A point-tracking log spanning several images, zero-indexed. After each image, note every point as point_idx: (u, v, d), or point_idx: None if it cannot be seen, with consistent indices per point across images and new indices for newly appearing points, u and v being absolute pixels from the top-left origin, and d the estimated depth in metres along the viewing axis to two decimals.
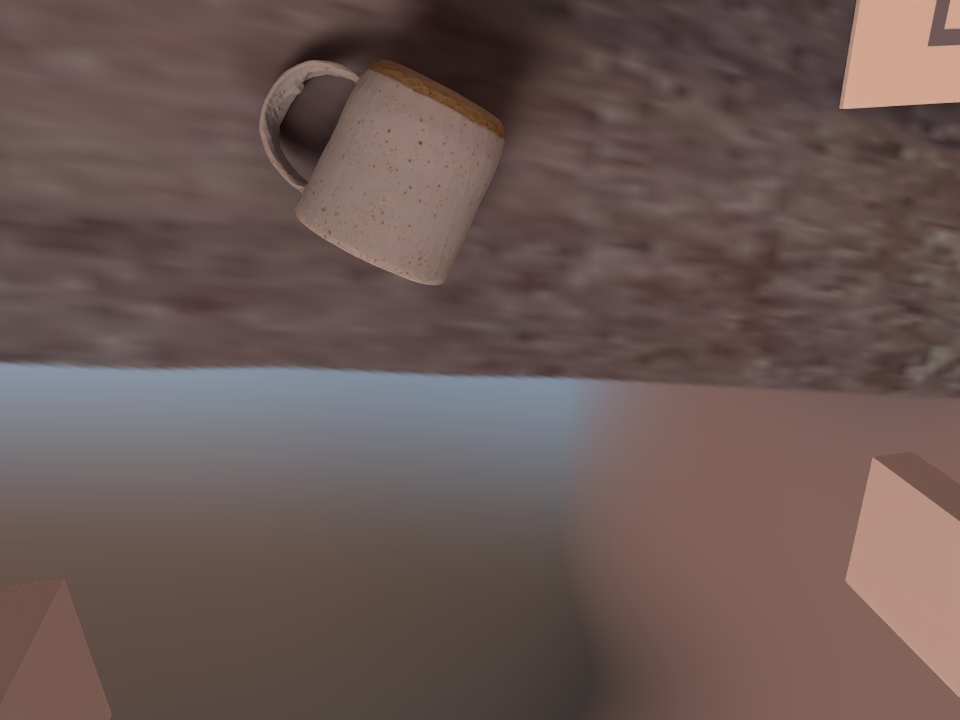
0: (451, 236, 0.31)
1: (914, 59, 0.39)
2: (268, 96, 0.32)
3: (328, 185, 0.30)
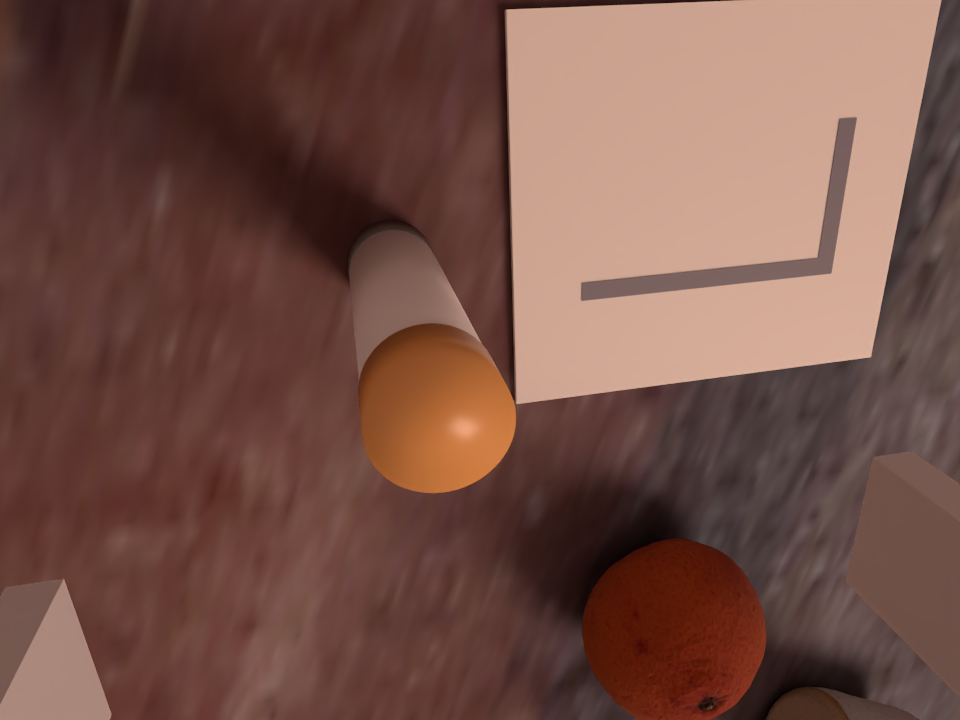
0: None
1: (840, 285, 0.33)
2: None
3: None
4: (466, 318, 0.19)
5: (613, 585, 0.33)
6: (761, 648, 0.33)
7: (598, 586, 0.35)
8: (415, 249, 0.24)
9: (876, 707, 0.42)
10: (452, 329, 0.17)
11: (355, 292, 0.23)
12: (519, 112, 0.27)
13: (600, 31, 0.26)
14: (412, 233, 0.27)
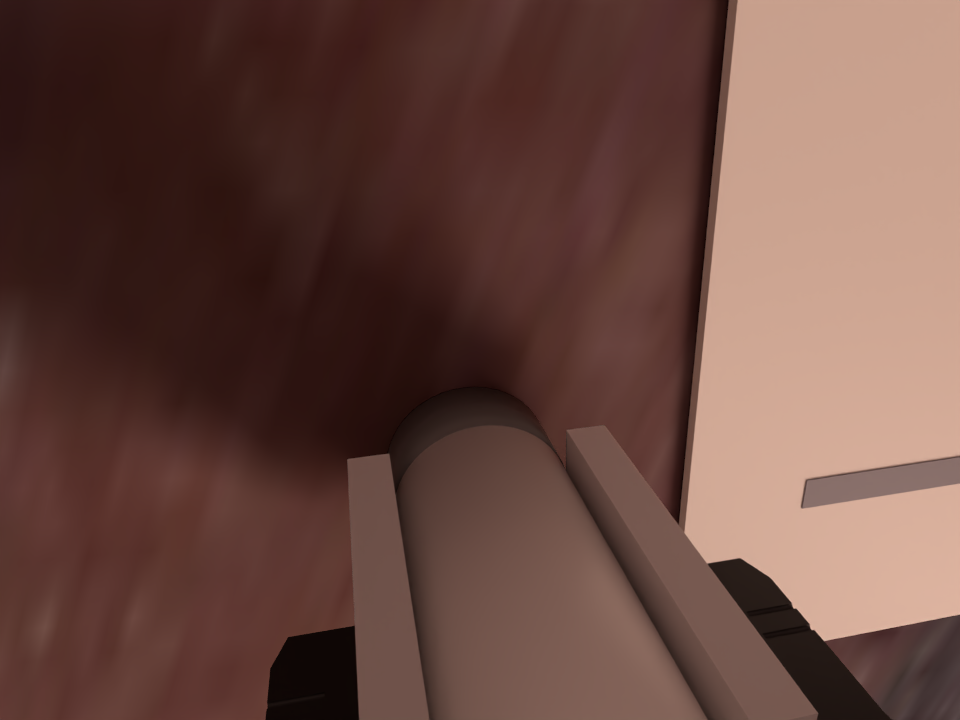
0: None
1: None
2: None
3: None
4: None
5: None
6: None
7: None
8: (557, 513, 0.10)
9: None
10: None
11: (428, 656, 0.09)
12: (739, 183, 0.13)
13: (916, 21, 0.13)
14: (524, 430, 0.13)
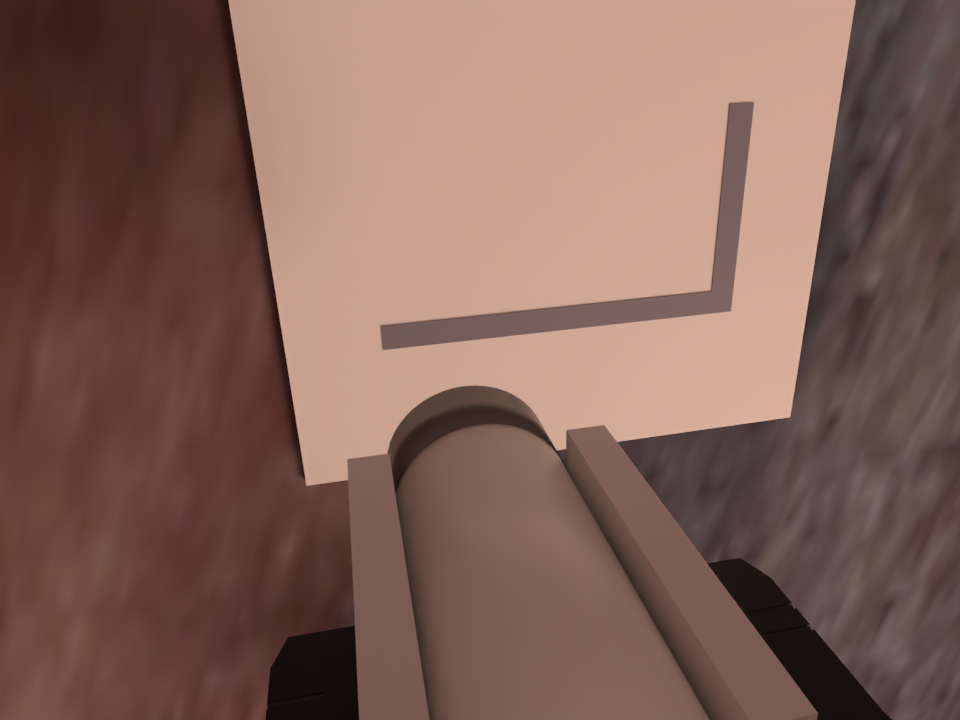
0: None
1: (744, 327, 0.25)
2: None
3: None
4: None
5: None
6: None
7: None
8: (557, 511, 0.10)
9: None
10: None
11: (428, 654, 0.09)
12: (258, 88, 0.19)
13: None
14: (524, 428, 0.13)
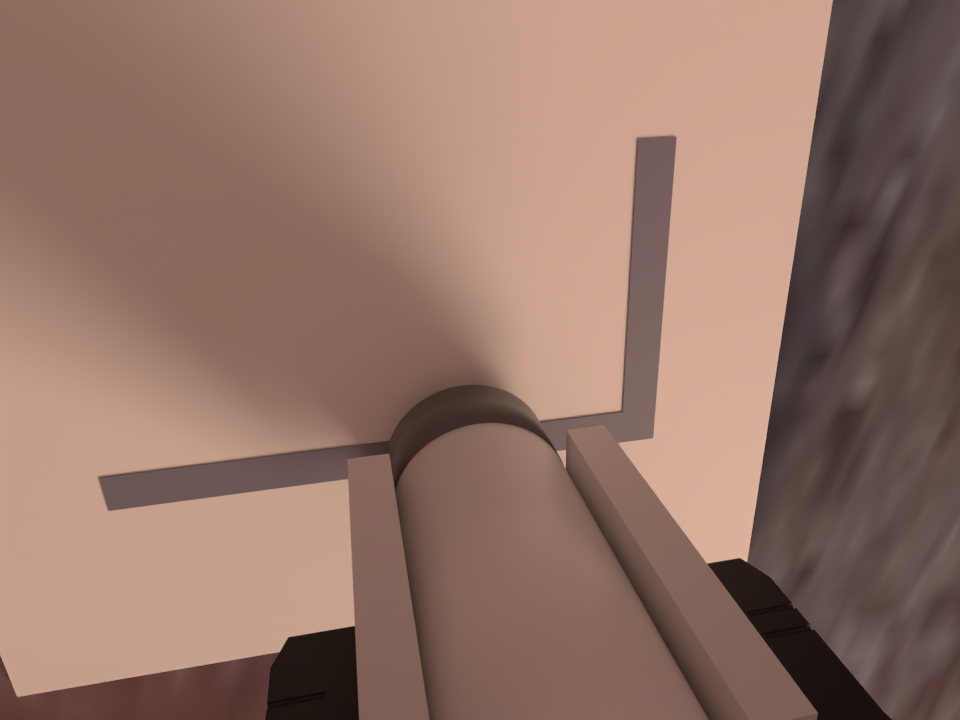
0: None
1: (675, 458, 0.17)
2: None
3: None
4: None
5: None
6: None
7: None
8: (556, 510, 0.10)
9: None
10: None
11: (427, 652, 0.09)
12: None
13: None
14: (523, 427, 0.13)
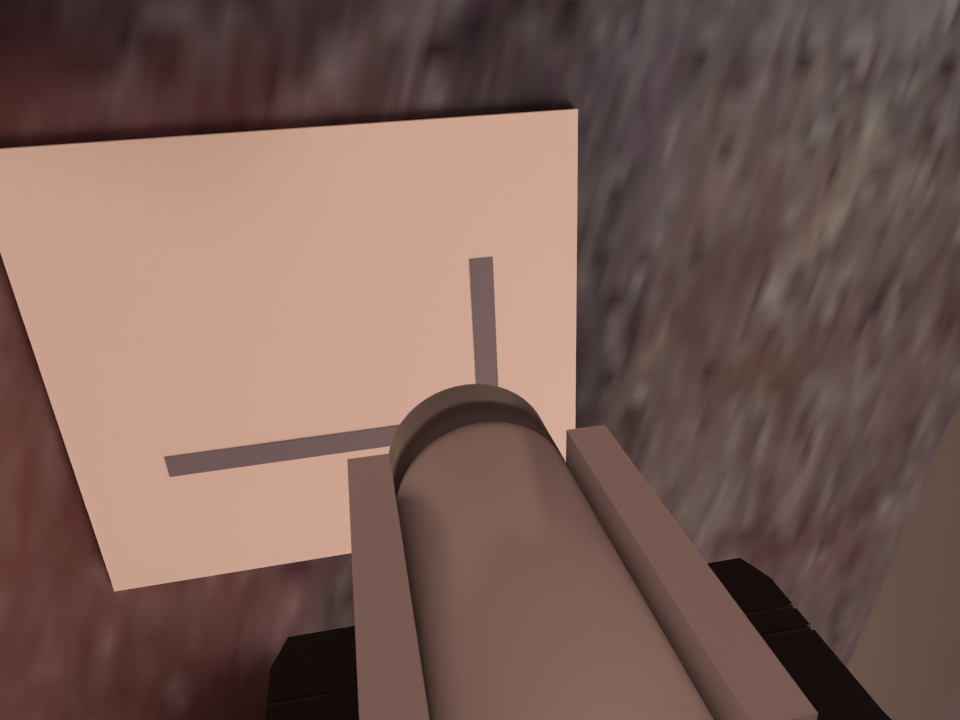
0: None
1: None
2: None
3: None
4: None
5: None
6: None
7: None
8: (559, 509, 0.10)
9: None
10: None
11: (431, 651, 0.09)
12: (21, 270, 0.21)
13: (109, 172, 0.21)
14: (526, 426, 0.13)
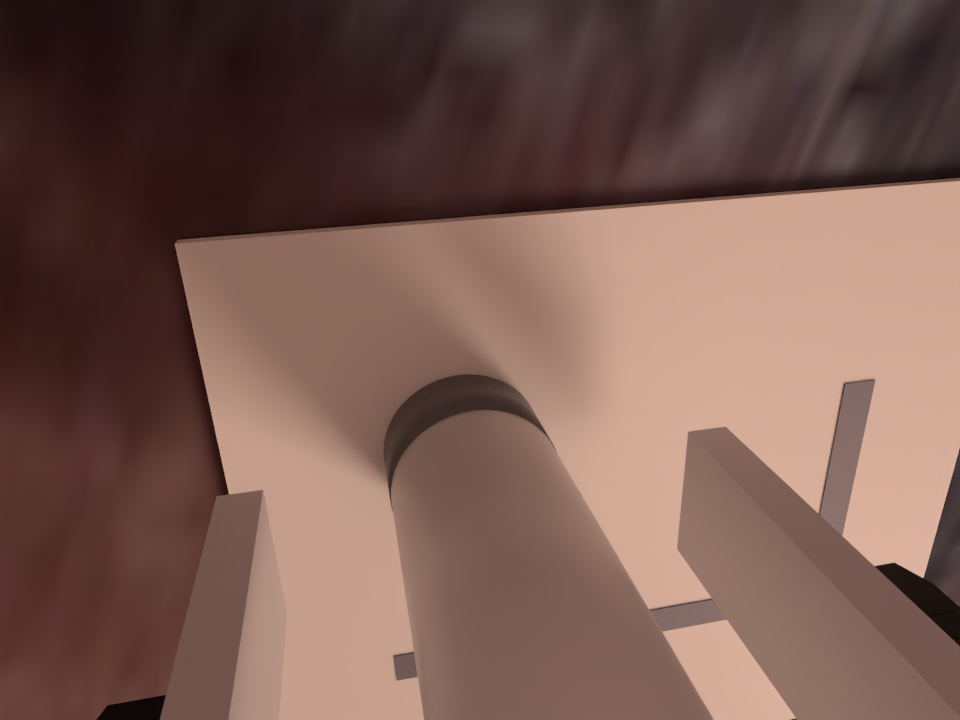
0: None
1: None
2: None
3: None
4: None
5: None
6: None
7: None
8: (548, 491, 0.11)
9: None
10: None
11: (424, 624, 0.10)
12: (233, 415, 0.14)
13: (380, 271, 0.13)
14: (517, 414, 0.13)
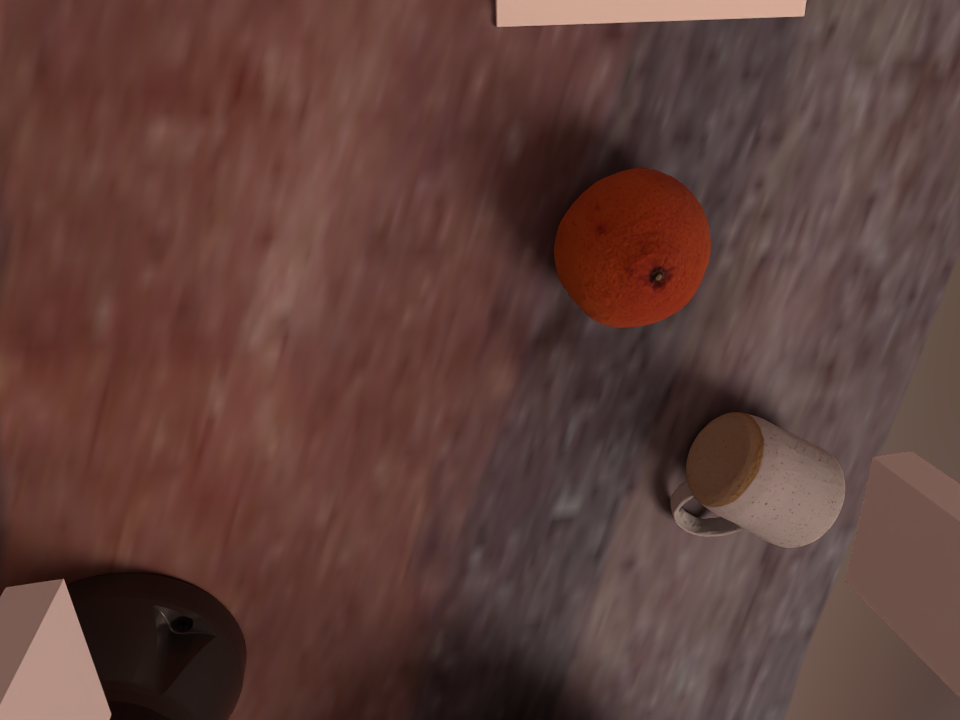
0: (820, 476, 0.46)
1: None
2: (686, 530, 0.53)
3: (767, 537, 0.48)
4: None
5: (579, 199, 0.39)
6: (705, 244, 0.38)
7: None
8: None
9: None
10: None
11: None
12: None
13: None
14: None
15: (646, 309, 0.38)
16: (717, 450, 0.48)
